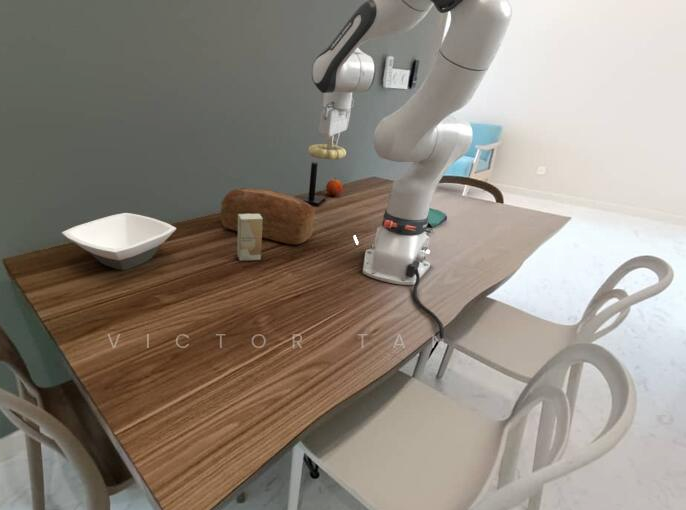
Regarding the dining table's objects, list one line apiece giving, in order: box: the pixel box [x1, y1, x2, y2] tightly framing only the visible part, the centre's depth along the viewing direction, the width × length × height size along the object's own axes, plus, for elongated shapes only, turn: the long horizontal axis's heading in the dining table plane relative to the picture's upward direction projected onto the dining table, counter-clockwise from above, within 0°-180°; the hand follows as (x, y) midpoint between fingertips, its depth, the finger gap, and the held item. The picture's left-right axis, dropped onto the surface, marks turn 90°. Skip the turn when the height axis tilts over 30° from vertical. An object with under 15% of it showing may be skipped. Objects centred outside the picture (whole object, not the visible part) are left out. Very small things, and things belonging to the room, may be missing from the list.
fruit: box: [325, 178, 344, 197], centre depth 168 cm, size 7×7×8 cm
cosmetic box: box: [236, 214, 263, 262], centre depth 108 cm, size 6×4×12 cm
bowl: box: [61, 212, 177, 271], centre depth 104 cm, size 22×23×8 cm
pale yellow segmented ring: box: [307, 143, 347, 160], centre depth 126 cm, size 12×12×3 cm
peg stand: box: [297, 161, 326, 208], centre depth 156 cm, size 9×9×16 cm
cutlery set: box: [425, 207, 448, 237], centre depth 146 cm, size 20×30×2 cm, turn 149°
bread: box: [220, 187, 316, 246], centre depth 124 cm, size 12×31×14 cm, turn 65°
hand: (331, 148), depth 130 cm, fingers closed on pale yellow segmented ring, 3 cm apart
